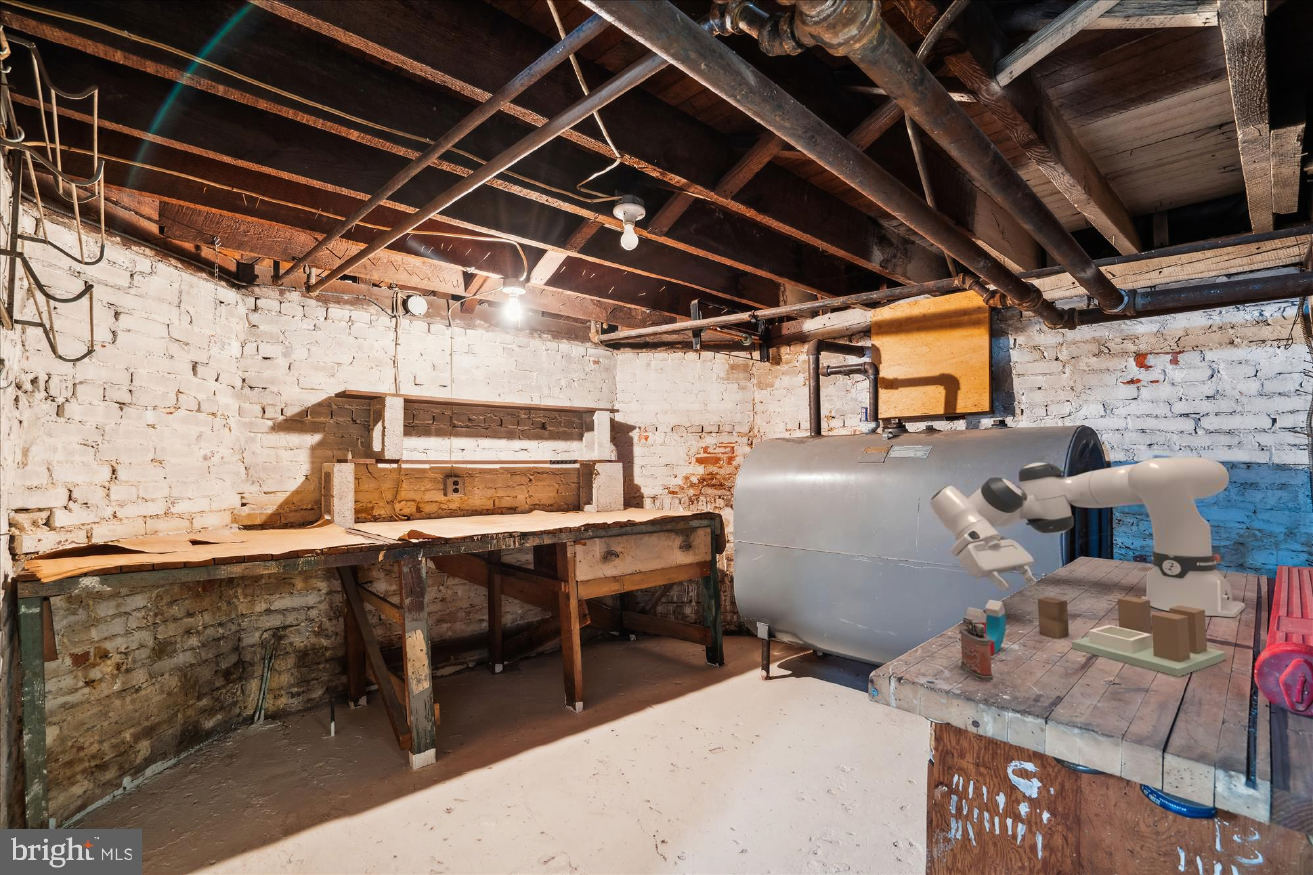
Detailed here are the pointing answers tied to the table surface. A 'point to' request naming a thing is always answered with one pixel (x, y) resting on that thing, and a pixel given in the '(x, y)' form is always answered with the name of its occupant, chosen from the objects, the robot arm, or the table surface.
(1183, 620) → the board
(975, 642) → the lighter
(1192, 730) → the table surface
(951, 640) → the table surface
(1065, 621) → the leg
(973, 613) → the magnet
